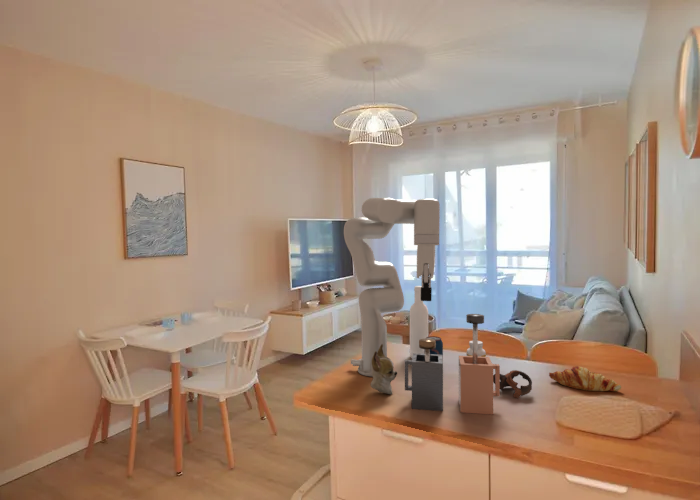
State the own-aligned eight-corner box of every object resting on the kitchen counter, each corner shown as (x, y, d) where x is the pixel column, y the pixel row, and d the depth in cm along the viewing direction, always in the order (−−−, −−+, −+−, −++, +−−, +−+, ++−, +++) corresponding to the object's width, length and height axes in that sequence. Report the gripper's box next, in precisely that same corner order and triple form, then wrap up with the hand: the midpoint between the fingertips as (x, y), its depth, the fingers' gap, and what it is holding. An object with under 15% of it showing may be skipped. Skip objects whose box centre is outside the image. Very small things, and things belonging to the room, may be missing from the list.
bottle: (409, 354, 179) (408, 285, 178) (427, 354, 178) (427, 285, 177) (410, 359, 171) (409, 287, 170) (429, 360, 170) (429, 287, 169)
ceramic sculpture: (394, 401, 128) (393, 353, 128) (366, 398, 131) (366, 351, 130) (400, 388, 138) (399, 344, 138) (374, 386, 141) (374, 342, 140)
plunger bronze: (417, 402, 124) (417, 342, 123) (418, 395, 129) (417, 337, 129) (437, 404, 122) (437, 343, 122) (437, 396, 128) (436, 338, 128)
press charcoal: (404, 408, 123) (403, 361, 122) (405, 396, 132) (405, 353, 131) (442, 410, 121) (442, 363, 120) (442, 399, 129) (442, 354, 129)
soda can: (422, 370, 157) (422, 339, 157) (426, 365, 163) (426, 335, 163) (441, 372, 154) (441, 340, 154) (444, 367, 161) (444, 336, 160)
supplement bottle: (483, 374, 152) (483, 339, 152) (487, 380, 145) (487, 344, 145) (465, 374, 153) (465, 339, 152) (468, 380, 146) (468, 344, 146)
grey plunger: (465, 378, 121) (465, 317, 120) (464, 372, 126) (464, 313, 126) (486, 380, 120) (486, 317, 119) (484, 373, 125) (484, 313, 125)
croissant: (620, 400, 136) (620, 375, 139) (622, 395, 128) (622, 369, 131) (549, 387, 147) (550, 365, 150) (547, 382, 139) (548, 358, 142)
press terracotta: (460, 412, 120) (460, 364, 119) (458, 400, 128) (458, 355, 128) (501, 415, 117) (501, 366, 117) (496, 402, 126) (496, 357, 126)
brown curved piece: (524, 388, 139) (533, 371, 135) (526, 411, 131) (536, 394, 127) (488, 378, 141) (495, 361, 137) (488, 399, 133) (496, 382, 129)
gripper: (415, 239, 133) (414, 296, 133) (412, 240, 118) (412, 304, 119) (438, 239, 131) (438, 297, 132) (439, 241, 116) (439, 305, 117)
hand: (426, 300), depth 125 cm, fingers closed
